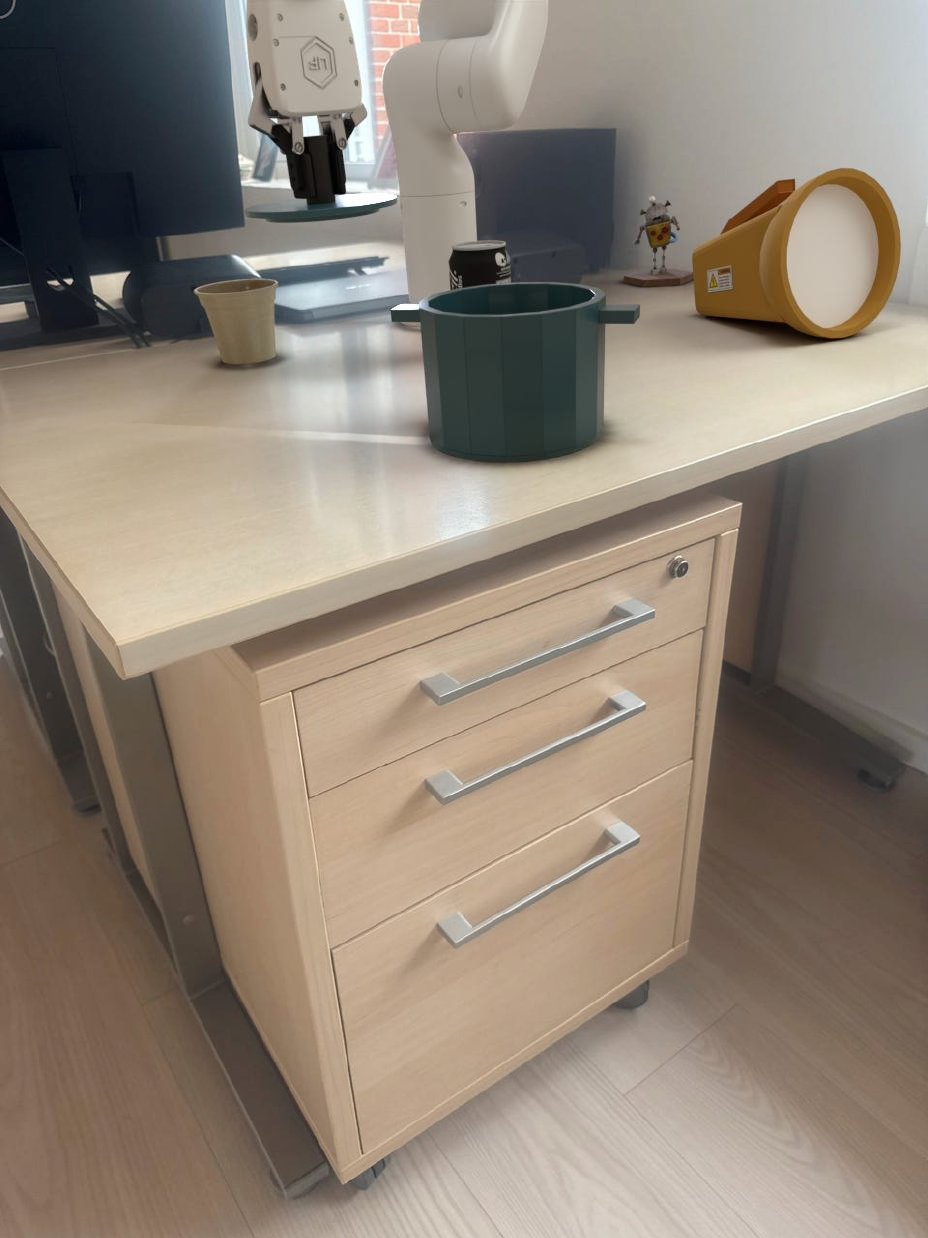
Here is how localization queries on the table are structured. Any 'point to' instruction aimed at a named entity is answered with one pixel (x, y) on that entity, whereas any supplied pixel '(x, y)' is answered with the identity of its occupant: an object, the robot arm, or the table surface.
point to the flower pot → (241, 318)
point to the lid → (321, 195)
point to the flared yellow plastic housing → (804, 256)
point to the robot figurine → (657, 236)
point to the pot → (515, 367)
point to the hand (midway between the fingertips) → (320, 194)
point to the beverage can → (479, 264)
